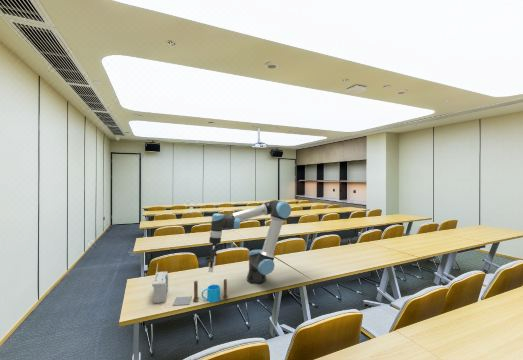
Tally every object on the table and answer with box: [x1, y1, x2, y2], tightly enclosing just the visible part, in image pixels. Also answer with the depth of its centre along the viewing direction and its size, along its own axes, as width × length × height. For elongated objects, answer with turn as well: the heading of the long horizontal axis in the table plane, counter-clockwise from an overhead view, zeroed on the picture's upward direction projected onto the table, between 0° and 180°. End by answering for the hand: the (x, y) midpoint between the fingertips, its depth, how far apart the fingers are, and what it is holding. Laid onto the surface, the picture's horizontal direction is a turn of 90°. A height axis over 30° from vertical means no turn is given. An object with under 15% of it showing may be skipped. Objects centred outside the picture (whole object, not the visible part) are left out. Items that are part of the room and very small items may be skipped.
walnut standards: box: [192, 278, 229, 303], centre depth 163 cm, size 22×4×13 cm, turn 97°
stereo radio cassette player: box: [151, 262, 169, 304], centre depth 167 cm, size 21×8×20 cm, turn 17°
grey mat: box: [172, 296, 192, 307], centre depth 161 cm, size 10×10×1 cm
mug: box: [200, 284, 221, 303], centre depth 163 cm, size 12×8×8 cm
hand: (211, 268), depth 166 cm, fingers open, 13 cm apart
